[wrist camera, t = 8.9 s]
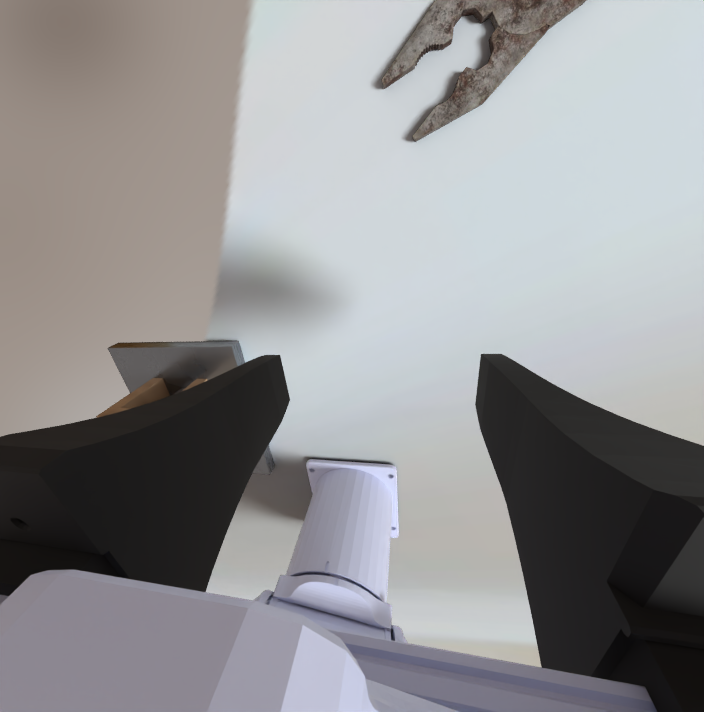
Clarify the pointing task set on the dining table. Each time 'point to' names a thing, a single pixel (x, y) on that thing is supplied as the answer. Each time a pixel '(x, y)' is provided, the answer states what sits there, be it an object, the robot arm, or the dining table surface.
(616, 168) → the dining table surface
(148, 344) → the base plate
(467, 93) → the pliers
